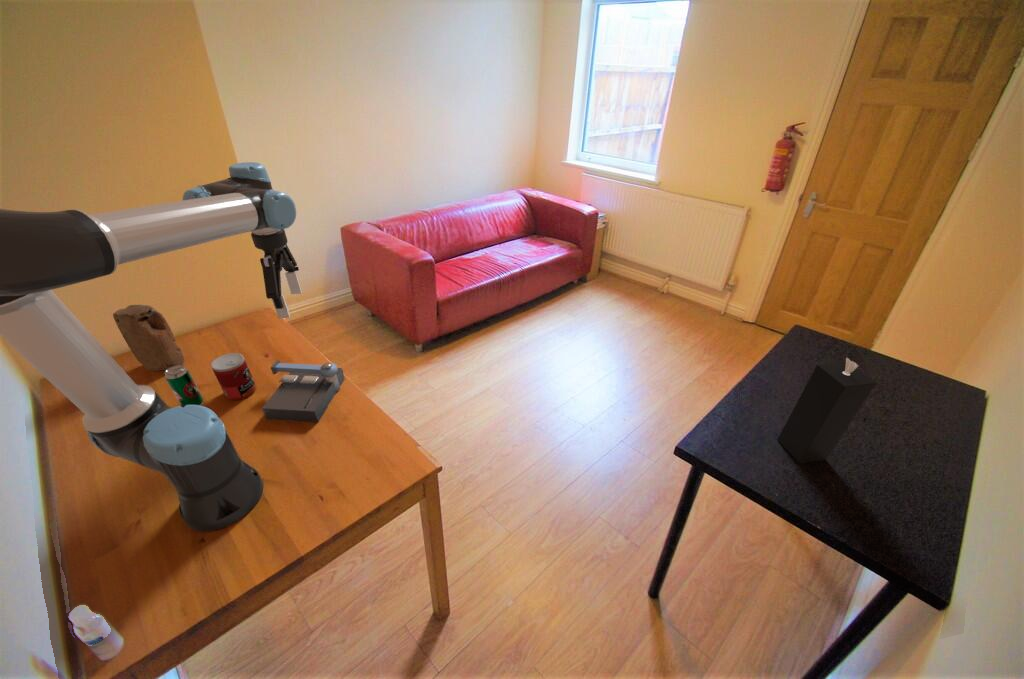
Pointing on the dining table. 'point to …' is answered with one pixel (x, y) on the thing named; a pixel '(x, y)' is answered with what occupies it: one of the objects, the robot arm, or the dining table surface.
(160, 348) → the brown rough lump
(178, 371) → the soda can
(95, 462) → the dining table surface
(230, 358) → the canned food
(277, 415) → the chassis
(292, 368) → the swing bar
